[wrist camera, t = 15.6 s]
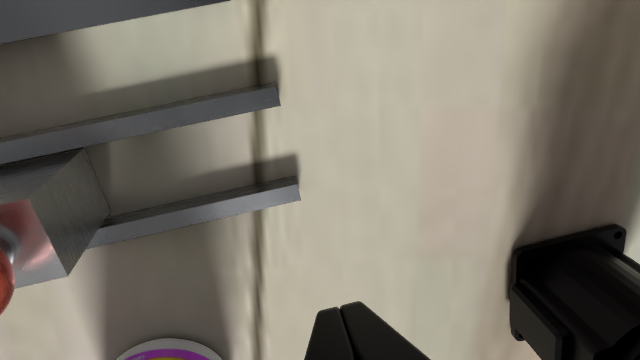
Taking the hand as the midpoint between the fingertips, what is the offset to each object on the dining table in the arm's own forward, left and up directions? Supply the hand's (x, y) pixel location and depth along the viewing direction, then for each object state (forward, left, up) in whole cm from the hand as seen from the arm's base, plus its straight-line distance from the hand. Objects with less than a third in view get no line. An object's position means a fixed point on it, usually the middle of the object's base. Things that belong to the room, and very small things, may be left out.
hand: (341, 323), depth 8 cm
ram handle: (+10, 0, -12) cm, 16 cm away
